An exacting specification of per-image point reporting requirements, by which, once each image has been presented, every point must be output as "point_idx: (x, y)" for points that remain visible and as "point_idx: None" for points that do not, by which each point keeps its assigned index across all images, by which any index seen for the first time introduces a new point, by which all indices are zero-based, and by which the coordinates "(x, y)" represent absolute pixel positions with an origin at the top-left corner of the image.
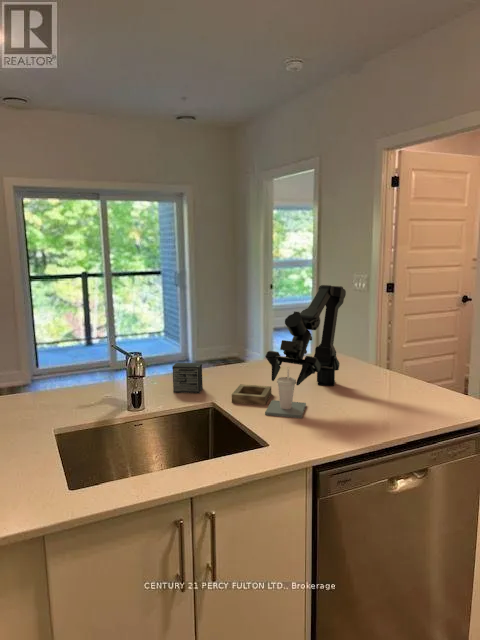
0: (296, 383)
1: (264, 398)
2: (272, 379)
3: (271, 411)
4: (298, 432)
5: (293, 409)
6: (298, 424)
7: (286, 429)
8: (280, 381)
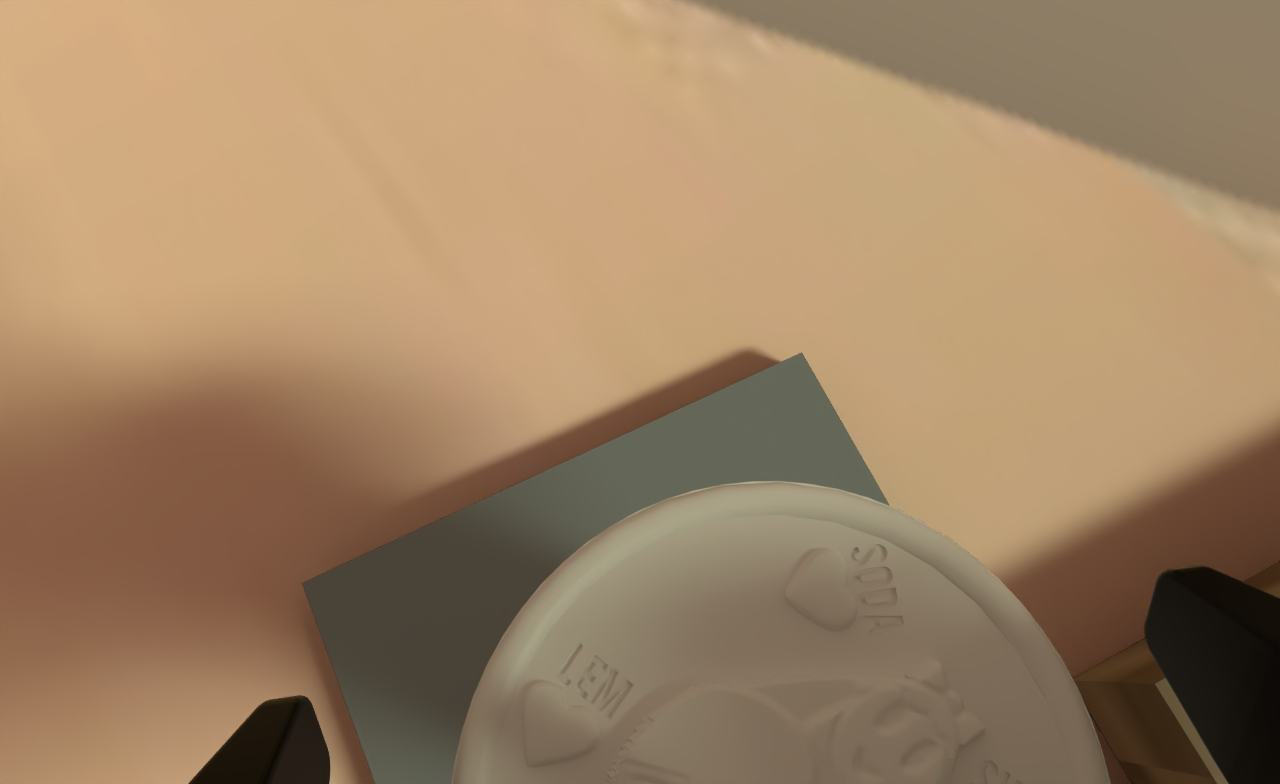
0: (293, 703)
1: (1140, 680)
2: (1171, 573)
3: (750, 427)
4: (145, 187)
5: None
6: (254, 380)
7: (310, 175)
8: (804, 495)
